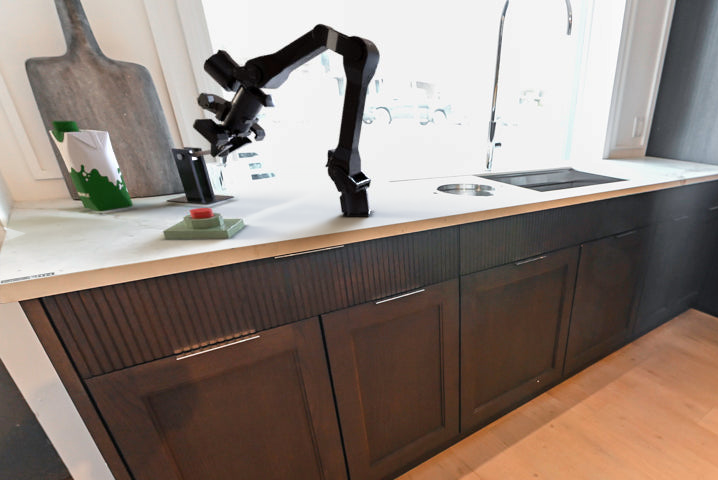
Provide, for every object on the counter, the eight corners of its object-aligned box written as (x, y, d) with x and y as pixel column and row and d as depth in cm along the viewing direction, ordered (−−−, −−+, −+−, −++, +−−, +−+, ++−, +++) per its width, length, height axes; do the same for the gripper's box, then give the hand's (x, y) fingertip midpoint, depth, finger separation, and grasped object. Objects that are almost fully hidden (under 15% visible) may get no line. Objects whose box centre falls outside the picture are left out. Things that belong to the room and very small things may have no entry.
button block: (244, 226, 98) (240, 210, 97) (229, 238, 90) (224, 221, 88) (187, 226, 96) (182, 211, 94) (165, 239, 88) (159, 222, 86)
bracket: (234, 200, 121) (221, 147, 114) (208, 207, 112) (192, 151, 105) (196, 197, 122) (180, 145, 115) (167, 204, 113) (149, 148, 107)
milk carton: (79, 211, 104) (39, 120, 95) (121, 204, 112) (88, 119, 102) (99, 216, 101) (60, 122, 92) (141, 208, 109) (109, 121, 99)
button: (217, 215, 94) (214, 207, 93) (209, 220, 90) (207, 212, 89) (196, 216, 93) (194, 207, 92) (188, 220, 89) (186, 212, 89)
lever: (234, 155, 111) (228, 140, 110) (225, 157, 108) (218, 141, 106) (192, 162, 114) (186, 148, 112) (182, 164, 111) (175, 149, 109)
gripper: (242, 82, 109) (217, 128, 116) (185, 78, 93) (159, 132, 100) (278, 116, 112) (251, 160, 119) (229, 118, 96) (201, 169, 103)
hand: (218, 155), depth 110 cm, fingers closed on lever, 3 cm apart
